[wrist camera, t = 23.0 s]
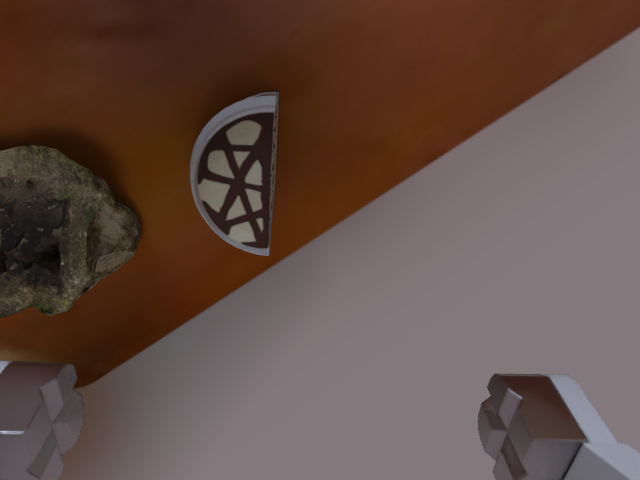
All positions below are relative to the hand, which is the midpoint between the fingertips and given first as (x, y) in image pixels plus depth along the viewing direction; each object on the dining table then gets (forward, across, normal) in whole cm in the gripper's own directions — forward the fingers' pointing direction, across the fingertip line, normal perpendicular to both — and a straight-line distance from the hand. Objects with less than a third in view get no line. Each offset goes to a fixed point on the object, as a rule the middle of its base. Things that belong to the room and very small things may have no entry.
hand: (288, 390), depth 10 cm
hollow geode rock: (+35, +27, +16) cm, 47 cm away
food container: (+35, +4, +7) cm, 36 cm away
